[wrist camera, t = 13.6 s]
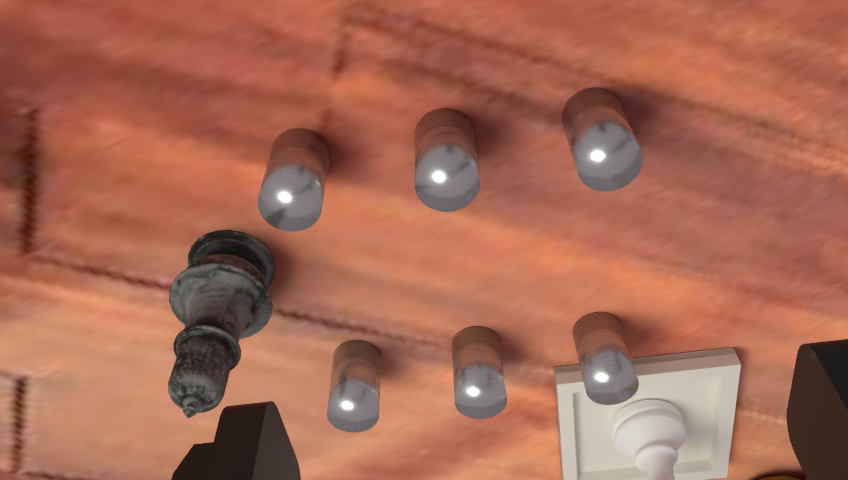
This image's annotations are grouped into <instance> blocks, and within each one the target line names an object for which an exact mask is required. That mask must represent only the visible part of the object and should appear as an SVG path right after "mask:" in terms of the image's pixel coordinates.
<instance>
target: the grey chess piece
mask: <svg viewBox="0 0 848 480" xmlns="http://www.w3.org/2000/svg"><path fill="white" fill-rule="evenodd" d="M188 266H189V267H188V268H187V269H186V270H185V271H183V272H181V273H180V274H179V275H178V276H177V277H176V279H175V280H174V281H173V284H172V286H171V288H170V291H169V302H170V305H171V308H172V311H173V312H174V314H175V315H176V317H177V318H178V320H179V321H180V322H182V323H183V324H184V325H185V329H184V330H182V331H181V332H180V333H179V334H178V335H177V336H176V338H175V341H174V352H175V355H176V356H177V358H176V361H175V364H174V367H173V370H172V373H171V376H170V379H169V382H168V393H169V395H170V397H171V399H172V400H173V402H174V403H175V404H176V405H177V406H178V407H180V408H182V409H183V412H184V413H185V415H186V416H187V418H190V417H192V416H194V415H196V413H203V412H207V411H209V410H211V409H213V408H215V407H216V406H217V405H218V404H219V403H220V402H221V400H222V398H223V396H224V393H225V389H226V385H227V381H228V377H229V373H230V370H232V369H233V368H234V367H235V366H236V365H237V364H238V363H239V361H240V358H241V349H240V346H239V344H238V342H239V339H243V338H247V337H250V336H252V335H254V334H255V333H257V332H259V331H260V330H261V329H262V328H263V327H264V326H265V325H267V323H268V321H269V319H270V317H271V314H272V306H273V304H272V300H271V295H270V293H269V292H268V287H269V286H270V285H271V283H272V281H273V279H274V276H275V269H276V267H275V262H274V258H273V256H272V254H271V253H270V251H269V249H268V248H267V247H266V246H265V245H264V244H263V243H262V242H260V241H259V240H257V239H256V238H254V237H252V236H250V235H247V234H245V233H242V232H237V231H231V230H223V231H215V232H211V233H208V234H206V235H204V236H202V237H201V238H199V239H198V240H197V241H196V242H195V243H194V244H193V245H192V247H191V250H190V252H189V254H188Z"/></svg>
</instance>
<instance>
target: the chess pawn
mask: <svg viewBox="0 0 848 480" xmlns="http://www.w3.org/2000/svg"><path fill="white" fill-rule="evenodd" d="M610 430H611V434H612V438H613V440H614V441H613V442H614V446H615V449H616V450H617V451H618V453H619V454H620V455H622V456H623V457H625V458H626V459H629V460H632V461H634V463H635V466H636V467H637V468H638V469H639V470H641V471H643V472H646V474H647V476H648V478H649V480H675V477H674V471H673V465H675V463H676V462H677V459H678V453H677V450H678V449H679V448H680V447H681V446H682V444H683V443H684V441H685V438H686V429H685V426H684V425H683V421H682V417H681V415H680V413H679V411H678V410H677V408H676V407H674V406H673V405H672V404H670V403H668V402H665V401H662V400H655V399H651V400H641V401H637V402H634V403H631V404H629V405H627V406H625V407H624V408H622V409H621V410H619V411H618V412H617V413H616V414H615V416H614V417H613V419H612V421H611V426H610Z"/></svg>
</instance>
